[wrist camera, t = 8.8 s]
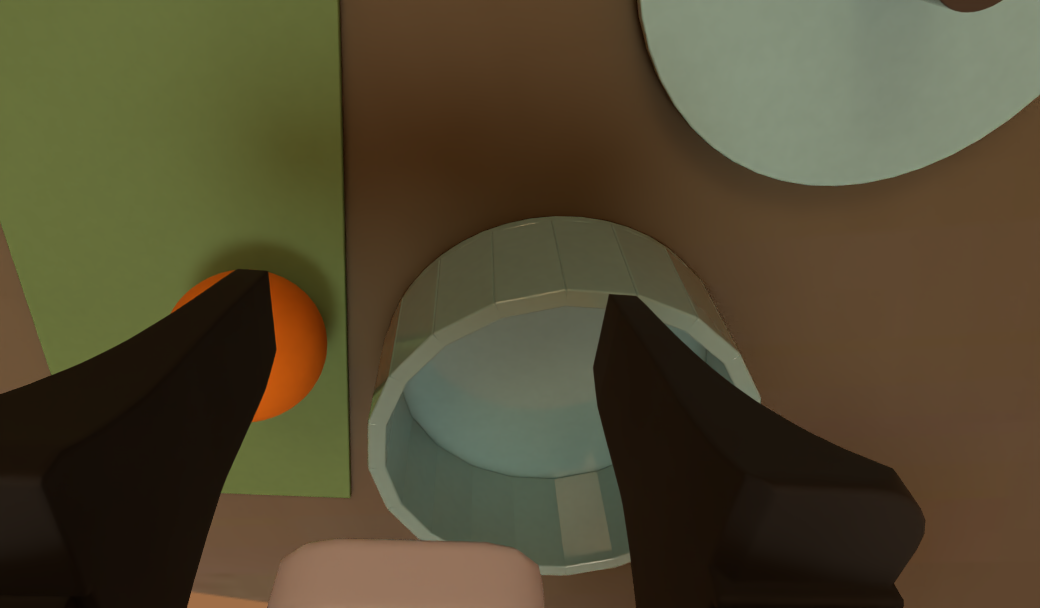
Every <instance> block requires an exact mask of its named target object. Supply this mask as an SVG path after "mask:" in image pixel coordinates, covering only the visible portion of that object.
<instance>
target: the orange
mask: <svg viewBox="0 0 1040 608" xmlns="http://www.w3.org/2000/svg"><path fill="white" fill-rule="evenodd" d="M250 270H251V269H250ZM233 271H235V270H232V271H227V272H223V273H219V274H217V275H214V276H212V277H209V278H207V279H205V280H203V281H202V282H200V283H198V284H197V285H195V286H194V287H193V288H192V289H190V290H189V291H188V292H187V293H186V294H185V295H184V296H183V297H182V298H181V299H180V300H179V301H178V302H177V304H176V305H175V307H174V308H173V310H172V312H171V313H173V312H174V311H176V310H177V309H179V308H180V307H182V306H183V305H185V304H186V303H188V302H189V301H190V300H192V299H193V298H195V297H196V296H198V295H199V294H201V293H202V292H204V291H205V290H207V289H208V288H209V287H211V286H212V285H214V284H215V283H217V282H218V281H219V280H221V279H222V278H224V277H225V276H227V275H228V274H230V273H231V272H233ZM268 274H269V283H270V293H271V302H272V311H273V320H274V330H275V339H276V348H277V351H276V354H275V358H274V362H273V366H272V370H271V373H270V377H269V380H268V383H267V387H266V390H265V392H264V395H263V397H262V400H261V402H260V404H259V406H258V409H257V411H256V413H255V415H254V418H253V420H252V422H257V421H262V420H266V419H269V418H272V417H275V416H278V415H280V414H282V413H284V412H286V411H288V410H289V409H291V408H292V407H294V406H295V405H297V404H298V403H299V402H300V401H301V400H303V399H304V398H305V397H306V396H307V394H308V393H309V392H310V391H311V390H312V388H313V387H314V385H315V384H316V382H317V380H318V379H319V377H320V375H321V373H322V370H323V367H324V364H325V360H326V355H327V335H326V329H325V325H324V322H323V319H322V316H321V314H320V312H319V310H318V309H317V307H316V305H315V304H314V302H313V301H312V300H311V299H310V297H309V296H308V295H307V294H306V293H305V292H304V291H303V290H302V289H300V288H299V287H298V286H297V285H296V284H294V283H292V282H290V281H289V280H287V279H285V278H284V277H281V276H278V275H276V274H273V273H270V272H268Z"/></svg>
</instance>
